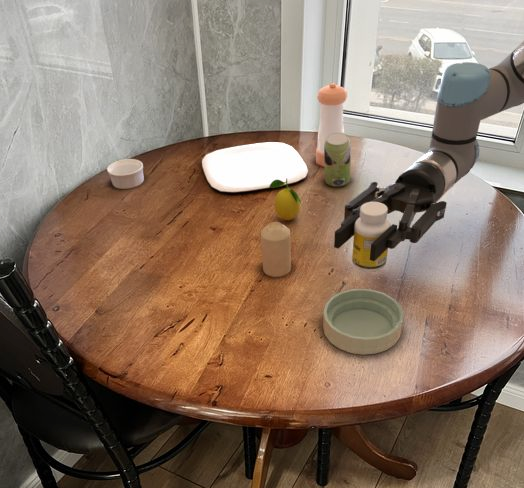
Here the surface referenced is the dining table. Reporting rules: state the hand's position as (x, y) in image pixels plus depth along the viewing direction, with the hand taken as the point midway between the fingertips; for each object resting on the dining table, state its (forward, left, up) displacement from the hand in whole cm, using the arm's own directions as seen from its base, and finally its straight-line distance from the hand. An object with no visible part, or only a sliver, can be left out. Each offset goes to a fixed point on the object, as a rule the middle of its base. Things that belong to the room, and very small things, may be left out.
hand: (354, 246), depth 79 cm
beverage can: (+27, -47, -18) cm, 57 cm away
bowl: (-1, -2, -18) cm, 18 cm away
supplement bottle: (0, -5, -6) cm, 8 cm away
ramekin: (+74, -24, -18) cm, 80 cm away
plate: (+49, -44, -18) cm, 68 cm away
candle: (+21, -10, -18) cm, 29 cm away
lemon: (+29, -27, -18) cm, 43 cm away
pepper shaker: (+34, -57, -18) cm, 69 cm away
